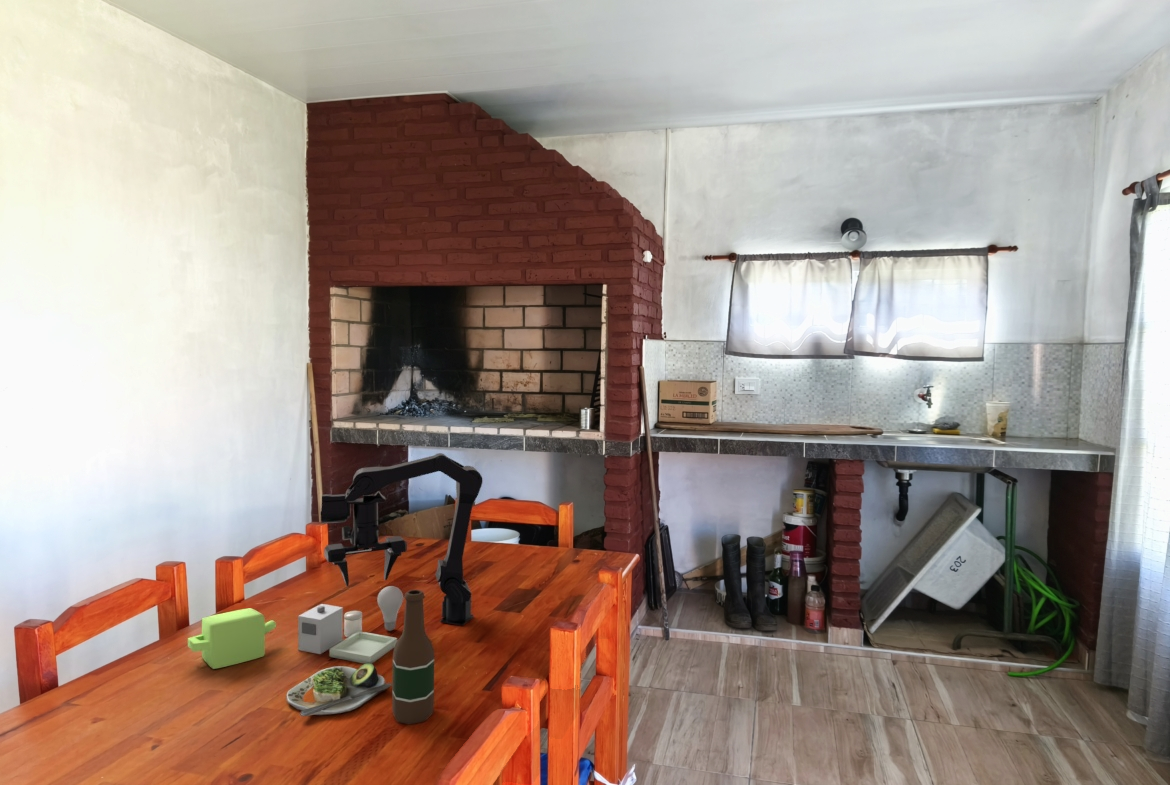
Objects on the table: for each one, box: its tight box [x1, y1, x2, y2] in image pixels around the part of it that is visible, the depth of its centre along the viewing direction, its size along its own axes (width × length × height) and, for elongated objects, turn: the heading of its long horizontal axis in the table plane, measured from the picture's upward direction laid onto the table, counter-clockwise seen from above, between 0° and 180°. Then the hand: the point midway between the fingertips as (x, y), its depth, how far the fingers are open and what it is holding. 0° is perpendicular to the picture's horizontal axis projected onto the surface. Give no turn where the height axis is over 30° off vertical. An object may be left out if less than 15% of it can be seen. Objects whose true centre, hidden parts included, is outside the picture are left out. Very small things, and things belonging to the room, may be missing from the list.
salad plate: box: [285, 663, 393, 717], centre depth 141 cm, size 19×18×5 cm
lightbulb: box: [376, 585, 404, 632], centre depth 173 cm, size 6×6×11 cm
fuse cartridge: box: [343, 610, 363, 638], centre depth 171 cm, size 4×4×5 cm
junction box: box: [297, 603, 344, 655], centre depth 164 cm, size 6×9×9 cm
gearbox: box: [187, 607, 277, 670], centre depth 158 cm, size 18×10×10 cm, turn 134°
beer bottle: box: [391, 589, 435, 726], centre depth 134 cm, size 8×8×24 cm
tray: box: [329, 631, 398, 665], centre depth 162 cm, size 11×11×2 cm
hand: (366, 582), depth 174 cm, fingers open, 9 cm apart
